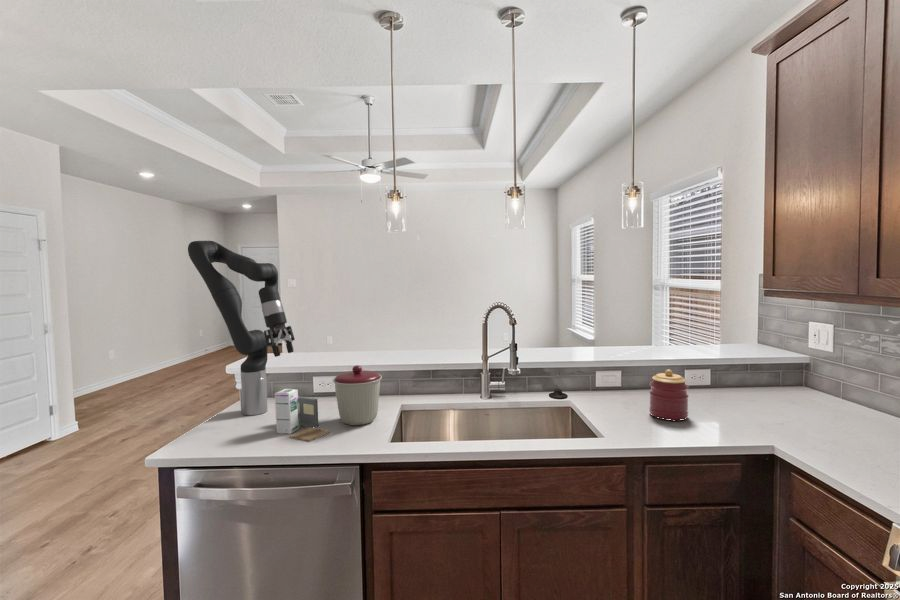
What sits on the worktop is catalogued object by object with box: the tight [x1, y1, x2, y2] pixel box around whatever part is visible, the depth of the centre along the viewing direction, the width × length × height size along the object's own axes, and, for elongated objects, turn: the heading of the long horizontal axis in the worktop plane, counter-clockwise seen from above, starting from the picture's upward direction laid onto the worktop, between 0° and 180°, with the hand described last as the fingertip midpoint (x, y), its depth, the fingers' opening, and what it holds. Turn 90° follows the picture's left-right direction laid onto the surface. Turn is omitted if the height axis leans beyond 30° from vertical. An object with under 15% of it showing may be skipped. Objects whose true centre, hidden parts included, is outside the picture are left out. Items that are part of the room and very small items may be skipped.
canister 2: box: [648, 368, 690, 420], centre depth 161 cm, size 13×13×18 cm
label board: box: [298, 395, 319, 428], centre depth 159 cm, size 13×3×10 cm, turn 64°
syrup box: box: [274, 388, 301, 435], centre depth 153 cm, size 6×6×14 cm
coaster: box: [289, 427, 330, 442], centre depth 149 cm, size 9×9×1 cm
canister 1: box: [332, 365, 383, 426], centre depth 162 cm, size 18×18×21 cm
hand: (284, 354), depth 166 cm, fingers open, 8 cm apart
